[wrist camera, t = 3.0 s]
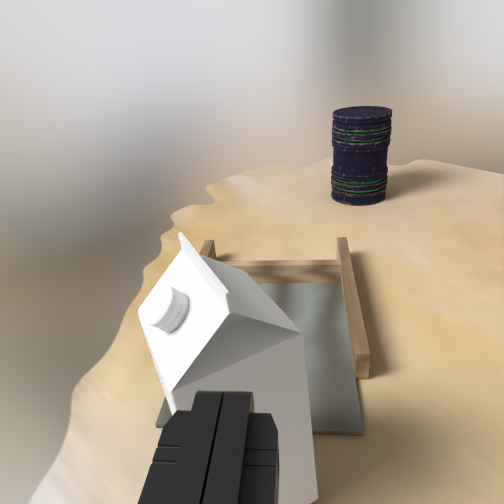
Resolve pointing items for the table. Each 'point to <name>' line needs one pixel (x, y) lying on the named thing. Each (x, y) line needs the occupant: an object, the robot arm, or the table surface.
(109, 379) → the table surface
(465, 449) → the table surface
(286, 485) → the milk carton
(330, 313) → the tray
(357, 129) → the dark blue barrel
